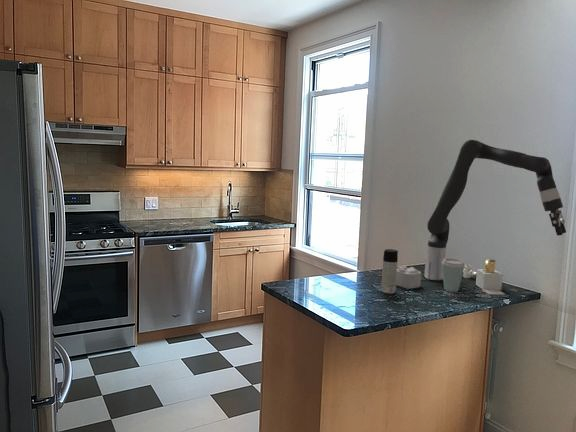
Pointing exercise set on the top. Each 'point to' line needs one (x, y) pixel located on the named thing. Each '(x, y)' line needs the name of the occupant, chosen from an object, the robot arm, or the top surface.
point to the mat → (494, 292)
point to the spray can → (389, 271)
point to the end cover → (490, 266)
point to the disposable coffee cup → (452, 273)
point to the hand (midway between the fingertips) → (561, 234)
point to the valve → (468, 272)
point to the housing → (489, 280)
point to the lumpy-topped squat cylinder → (408, 277)
